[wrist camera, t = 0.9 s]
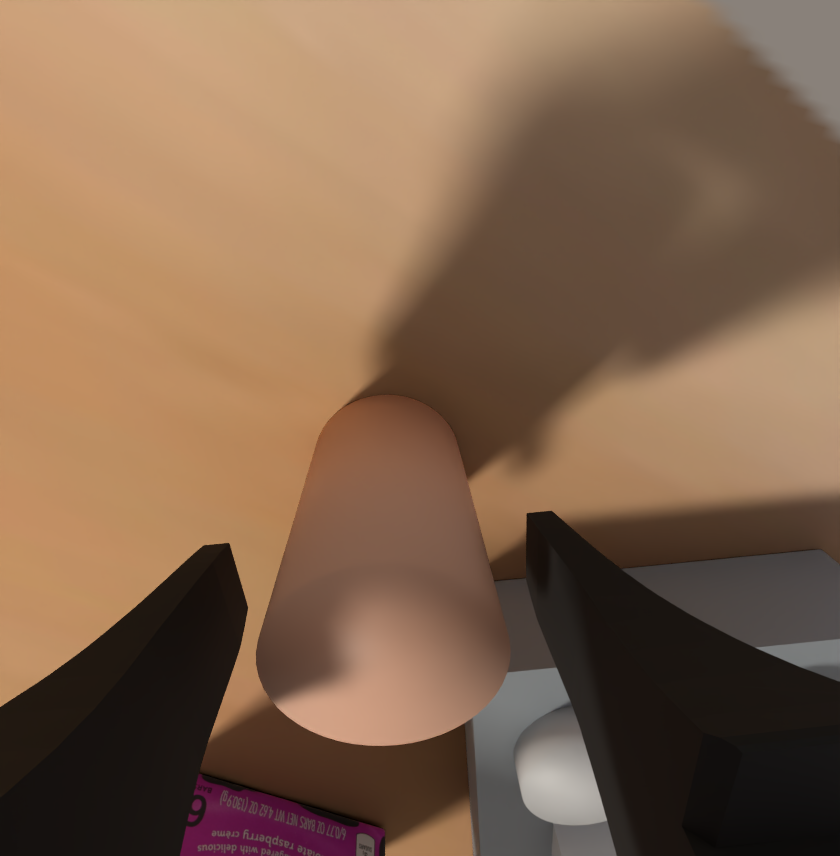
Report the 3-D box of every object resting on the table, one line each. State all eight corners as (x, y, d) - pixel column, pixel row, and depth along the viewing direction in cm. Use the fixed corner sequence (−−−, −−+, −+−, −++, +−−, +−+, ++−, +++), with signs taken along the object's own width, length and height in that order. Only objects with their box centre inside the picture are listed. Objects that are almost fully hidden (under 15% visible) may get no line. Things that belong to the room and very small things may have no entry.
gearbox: (821, 549, 19) (988, 687, 14) (728, 843, 28) (810, 1001, 22) (456, 585, 19) (481, 739, 14) (474, 870, 28) (494, 1035, 22)
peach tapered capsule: (455, 387, 16) (509, 549, 9) (465, 558, 19) (511, 787, 12) (302, 402, 16) (228, 577, 9) (334, 570, 19) (299, 809, 11)
